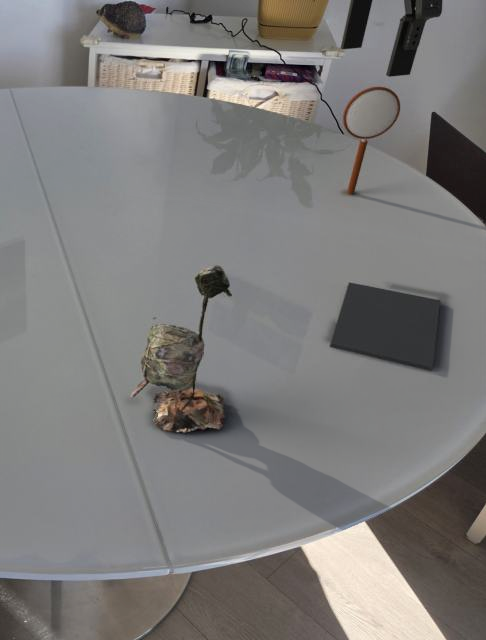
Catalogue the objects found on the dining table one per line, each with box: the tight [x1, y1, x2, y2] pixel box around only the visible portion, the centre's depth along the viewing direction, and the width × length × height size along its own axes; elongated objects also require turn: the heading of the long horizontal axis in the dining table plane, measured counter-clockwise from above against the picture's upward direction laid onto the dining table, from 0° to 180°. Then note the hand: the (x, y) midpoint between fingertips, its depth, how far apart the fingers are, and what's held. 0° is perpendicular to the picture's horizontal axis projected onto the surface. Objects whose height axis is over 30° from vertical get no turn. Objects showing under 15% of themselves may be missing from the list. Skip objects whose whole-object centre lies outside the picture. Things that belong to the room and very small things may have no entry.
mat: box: [329, 282, 441, 372], centre depth 88 cm, size 12×16×1 cm
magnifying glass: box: [342, 86, 401, 196], centre depth 110 cm, size 9×2×20 cm, turn 80°
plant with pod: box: [130, 264, 233, 433], centre depth 72 cm, size 8×11×20 cm
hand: (372, 61), depth 88 cm, fingers open, 13 cm apart
